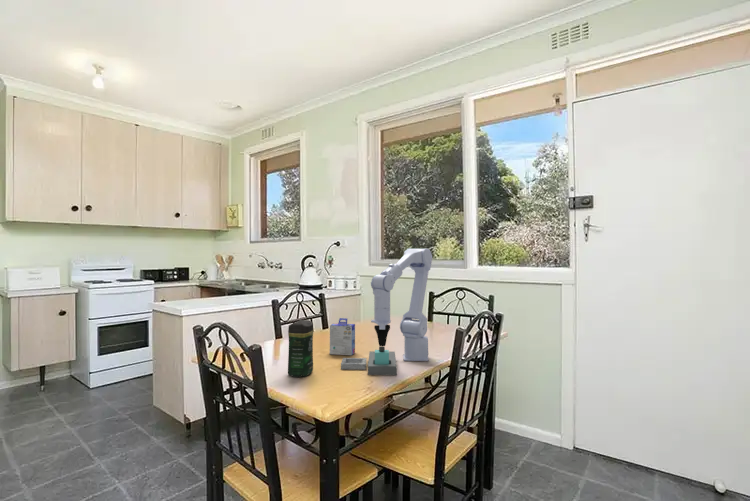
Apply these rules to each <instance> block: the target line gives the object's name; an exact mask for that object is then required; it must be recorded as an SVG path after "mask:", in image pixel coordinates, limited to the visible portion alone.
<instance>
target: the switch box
mask: <svg viewBox="0 0 750 501" xmlns="http://www.w3.org/2000/svg"><path fill="white" fill-rule="evenodd" d="M396 358H397V357H396V351H389V364H375V350H374V351H373V350H372V351H369V352H368V361H367V375H368V376H397V373H398V372H397V368H398V366H397V359H396Z"/></svg>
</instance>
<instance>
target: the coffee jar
mask: <svg viewBox="0 0 750 501" xmlns="http://www.w3.org/2000/svg"><path fill="white" fill-rule="evenodd" d="M287 329H288V330H287V332H288V333H287V335H288V355H287V356H288V359H287V360H288V361H287V374H288V376H290V377H293V378H300V377H307V376H309V375H310V374H311V373H312V372H313V371H314V355H313V354H314V353H313V352H314V351H313V350H314V349H313V348H314V347H313V346H314V344H313V343H314V340H313V339H314V323H313V322H312V321H311V320H309V319H299V320H298V321H295V322H293V323H291V324H289V325H288V328H287Z"/></svg>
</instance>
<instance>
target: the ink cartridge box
mask: <svg viewBox="0 0 750 501" xmlns="http://www.w3.org/2000/svg"><path fill="white" fill-rule="evenodd" d="M354 354H356V324H355V323H348V318H347V317H346V318H344V317H342V318H341V317H339V319H338V322H337V323H332V324H330V325H329V355H335V356H336V355H338V356H341V355H342V356H353V355H354Z"/></svg>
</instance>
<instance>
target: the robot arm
mask: <svg viewBox="0 0 750 501" xmlns="http://www.w3.org/2000/svg"><path fill="white" fill-rule="evenodd" d="M432 262H433V254H432V252H431V250H430V249H429V247H428V248H427V247H426V248H411V247H409V248H407V249H406V250H404V252H403V256H402V257H401V258H400V259H399V260H398V261H397V262H396V263H390V264H388V267H386V268H385V269H384V270H382V272H381V273H380V274H375V275H374V276H373V277H372V279H371V282H370V286H371V288H372V294H373V295H374V296H373V297H374V300H373V301H374V306H373V307H374V308H373V311H374V313H373V315H374V318H373V319H371V320H370V323H374V324H376V325H374V326H373V327H374V330H375V333H376V335H377V341H378V345H379V346H378V347H381V346H383V347H386V344H387V338H388V334H389V331H390V329H391V325H390V324H391V321H392V320H391V291H392V290H393V289H394V286H395V284H396V282H397V281H398V280H399V278H400V277H402V276H403V271H404V270H405V269H406V268H407V267H409V268H410V269H411V270H413V272H414V273H415V274H414V280H413V285H412V291H411V297H410V302H409V309H408V310H407V312H405V313H404V314H403V315H402V319H401V320H400V324H399V329H400V332H401V333H402V336H403V337H404V339H403V340H404V341H403V342H404V344H403V345H404V346H403V347H404V354H402V356H403V361H405V362H412V361H413V362H414V361H415V362H416V361H417V362H418V361H419V362H428V361H429V339H428V338H429V337H428V336H427V335H426V334H427V331H428V318H427V317H426V315H425V314H424V313H423V308H424V304H425V303H424V302H425V296H426V290H427V285H428V284H427V283H428V277H429V271H430V270H431V268H432Z"/></svg>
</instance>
